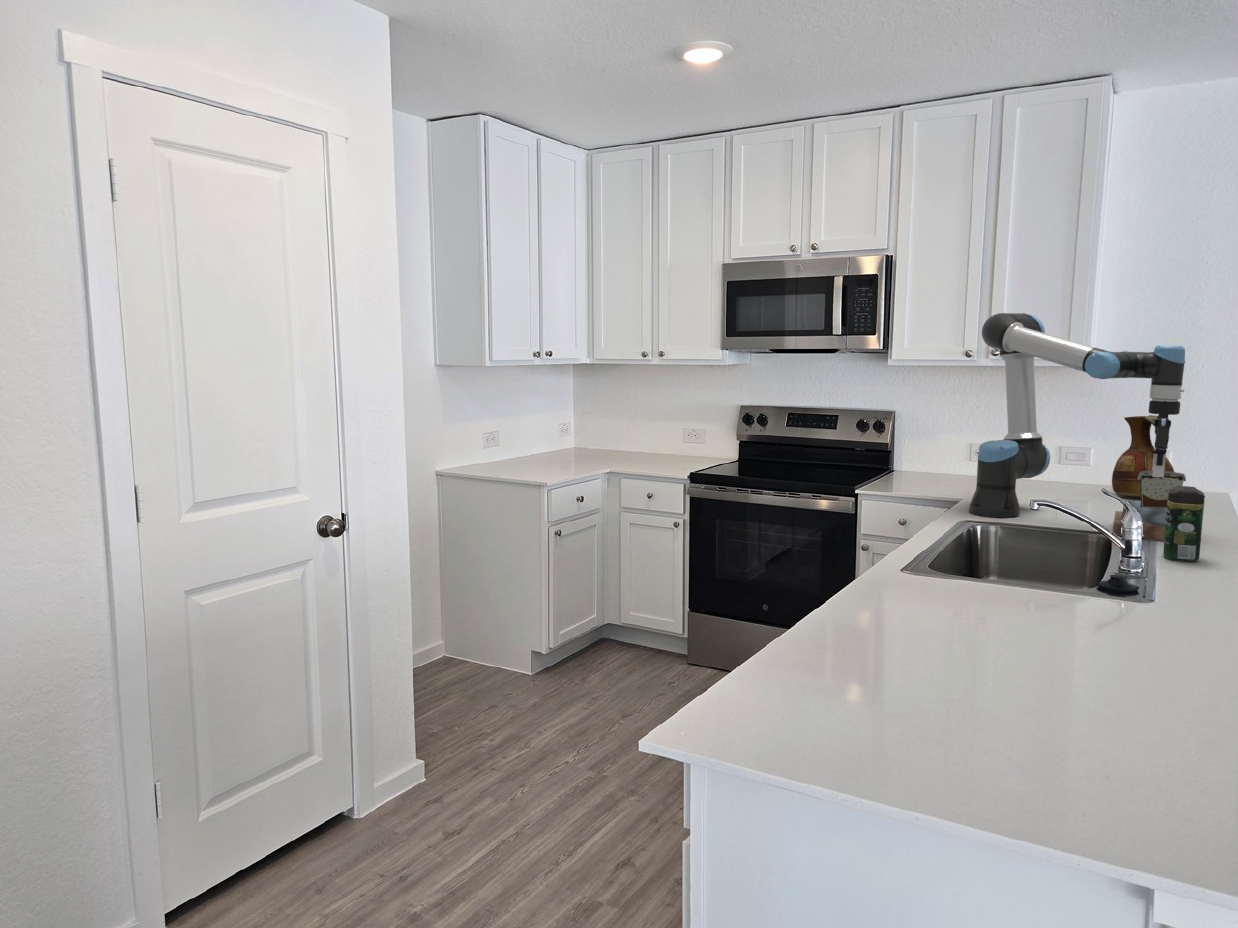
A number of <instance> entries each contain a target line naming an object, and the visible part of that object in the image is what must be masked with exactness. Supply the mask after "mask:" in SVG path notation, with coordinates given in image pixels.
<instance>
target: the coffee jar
mask: <svg viewBox="0 0 1238 928" xmlns="http://www.w3.org/2000/svg"><path fill="white" fill-rule="evenodd" d="M1205 498H1206V496H1205V493H1204V492H1203V491H1202V490H1200V489H1197V488H1196V487H1195V486H1189V485H1188V486H1187V485H1185V486H1184V485H1183V486H1177V487H1175V488H1172V489H1170V490H1169V494H1168V501H1167V510H1166V521H1165V536H1164V541H1163V551H1162V552H1163V556H1164V557H1165V558H1166V559H1170V560H1175V561H1177V562H1185V563H1186V562H1198V561H1199V560H1200V554H1201V545H1202V544H1201V542H1202V533H1203V532H1202V531H1203V519H1204V509H1205V508H1204V507H1205Z"/></svg>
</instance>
